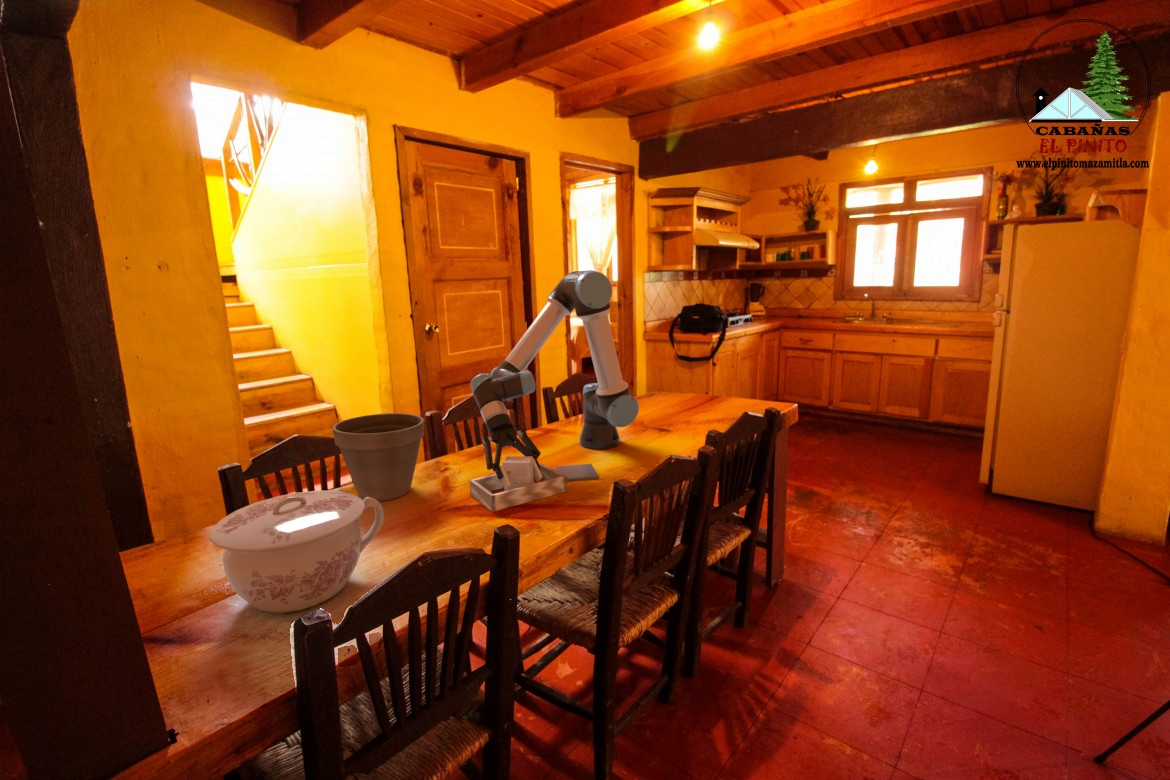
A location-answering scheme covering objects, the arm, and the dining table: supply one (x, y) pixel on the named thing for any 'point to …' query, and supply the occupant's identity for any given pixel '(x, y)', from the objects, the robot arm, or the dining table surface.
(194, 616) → the dining table surface
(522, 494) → the crate
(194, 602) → the dining table surface
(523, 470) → the small box
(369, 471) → the plant pot
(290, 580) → the chamber pot
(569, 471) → the plate
